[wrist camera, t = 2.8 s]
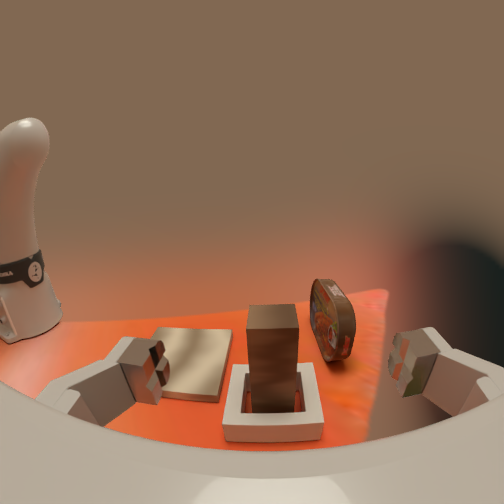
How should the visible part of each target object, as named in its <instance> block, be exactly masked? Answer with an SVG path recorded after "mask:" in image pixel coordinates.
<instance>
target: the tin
mask: <svg viewBox="0 0 504 504" xmlns="http://www.w3.org/2000/svg"><path fill="white" fill-rule="evenodd" d="M310 321H311V326H312V330H313V332H314V335H315V337H316V340H317V343H318V345H319V348H320V351H321V353H322V356H323V358H324V359H325V360H326V361H328V362H329V361H333V360H343V359H346V358H348V357H349V356H350V354H351V349H352V346H353V342H354V337H355V333H356V320H355V313H354V310H353V307H352V304H351V303H350V301H349V300H348V299H347V297H346V296H345V295H344V293H343V292H342V291H341V290H340V288H339V287H338V286H337V284H336V283H335V282H334V281H333V280H330V279H315V281H314V282H313V285H312V289H311V296H310Z"/></svg>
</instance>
